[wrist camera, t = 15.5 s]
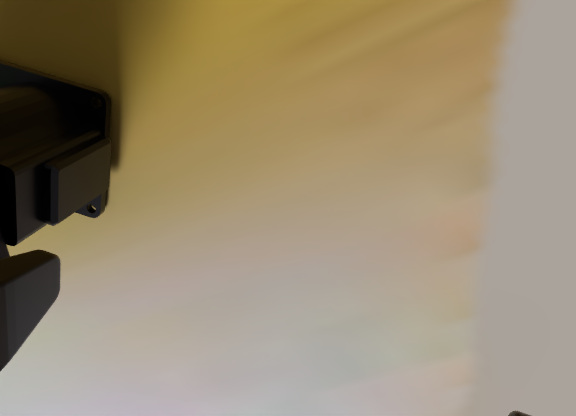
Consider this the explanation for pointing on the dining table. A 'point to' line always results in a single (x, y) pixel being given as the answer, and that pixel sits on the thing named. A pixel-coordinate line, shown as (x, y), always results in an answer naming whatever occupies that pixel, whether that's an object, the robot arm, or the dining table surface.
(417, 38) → the dining table surface
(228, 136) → the dining table surface
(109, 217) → the dining table surface
